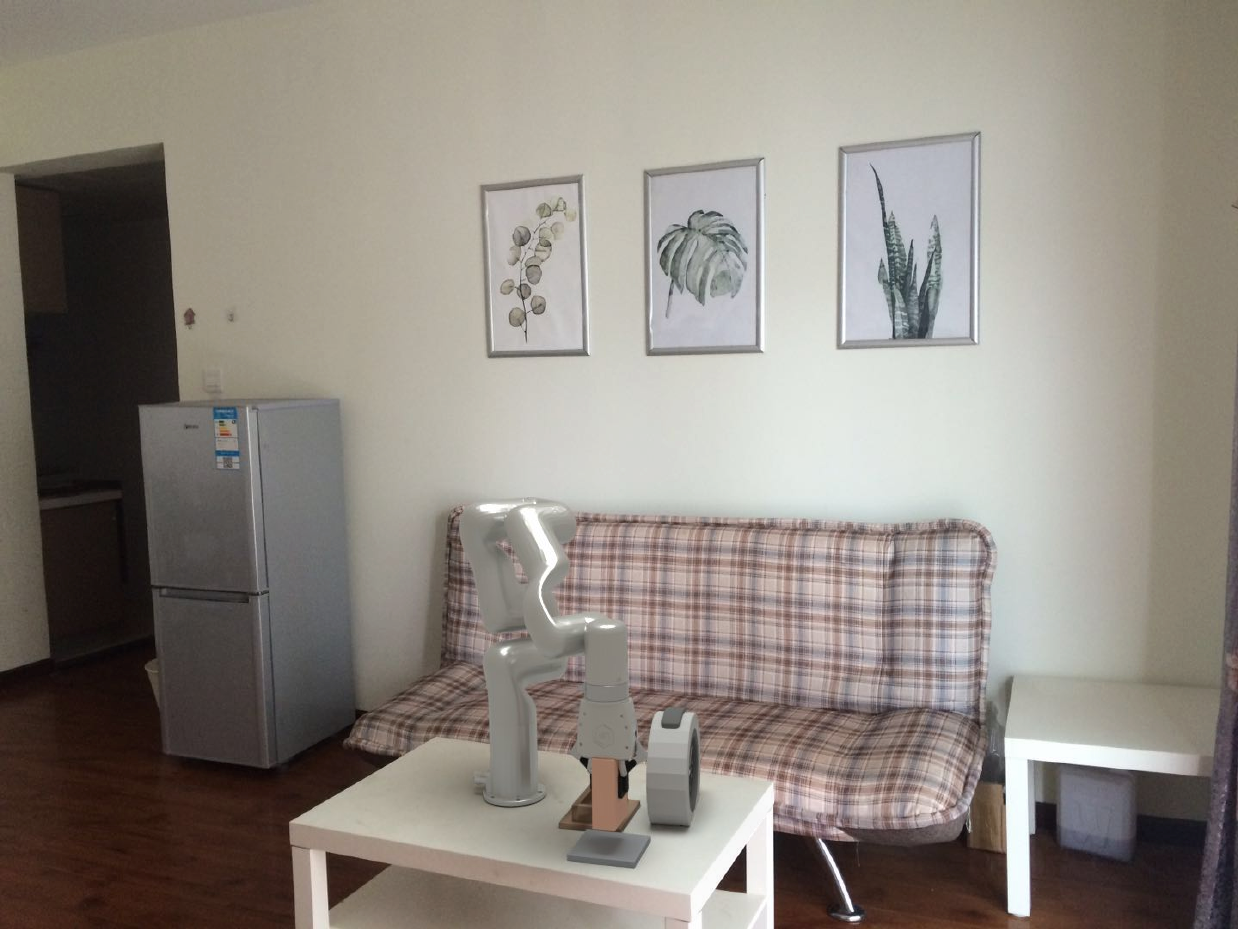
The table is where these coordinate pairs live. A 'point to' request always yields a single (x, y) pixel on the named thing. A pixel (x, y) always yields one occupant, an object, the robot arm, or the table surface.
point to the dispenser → (582, 813)
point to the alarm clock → (673, 767)
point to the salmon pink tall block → (606, 795)
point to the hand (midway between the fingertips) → (609, 794)
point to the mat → (609, 848)
